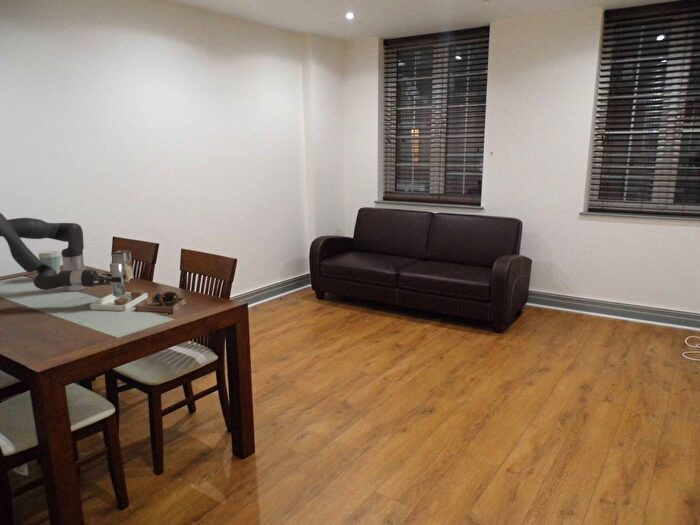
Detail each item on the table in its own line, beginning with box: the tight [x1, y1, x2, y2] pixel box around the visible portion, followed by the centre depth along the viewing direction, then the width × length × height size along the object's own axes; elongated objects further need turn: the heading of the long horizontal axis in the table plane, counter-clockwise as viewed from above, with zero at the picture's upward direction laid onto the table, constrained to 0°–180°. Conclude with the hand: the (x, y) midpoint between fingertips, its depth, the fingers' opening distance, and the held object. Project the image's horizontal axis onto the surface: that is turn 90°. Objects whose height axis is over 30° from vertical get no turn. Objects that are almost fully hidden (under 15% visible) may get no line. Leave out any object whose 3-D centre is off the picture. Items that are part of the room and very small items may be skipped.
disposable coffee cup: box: [37, 250, 62, 274], centre depth 271 cm, size 11×11×15 cm
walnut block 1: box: [114, 298, 129, 305], centre depth 221 cm, size 4×4×4 cm
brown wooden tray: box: [135, 296, 188, 314], centre depth 224 cm, size 15×17×3 cm
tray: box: [89, 291, 149, 312], centre depth 228 cm, size 20×16×3 cm
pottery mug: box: [153, 290, 180, 307], centre depth 225 cm, size 12×10×8 cm
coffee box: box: [111, 249, 135, 283], centre depth 268 cm, size 9×6×16 cm
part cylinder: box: [109, 262, 126, 296], centre depth 226 cm, size 5×5×14 cm
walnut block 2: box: [130, 289, 144, 300], centre depth 234 cm, size 4×4×4 cm
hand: (123, 278), depth 226 cm, fingers closed on part cylinder, 5 cm apart
